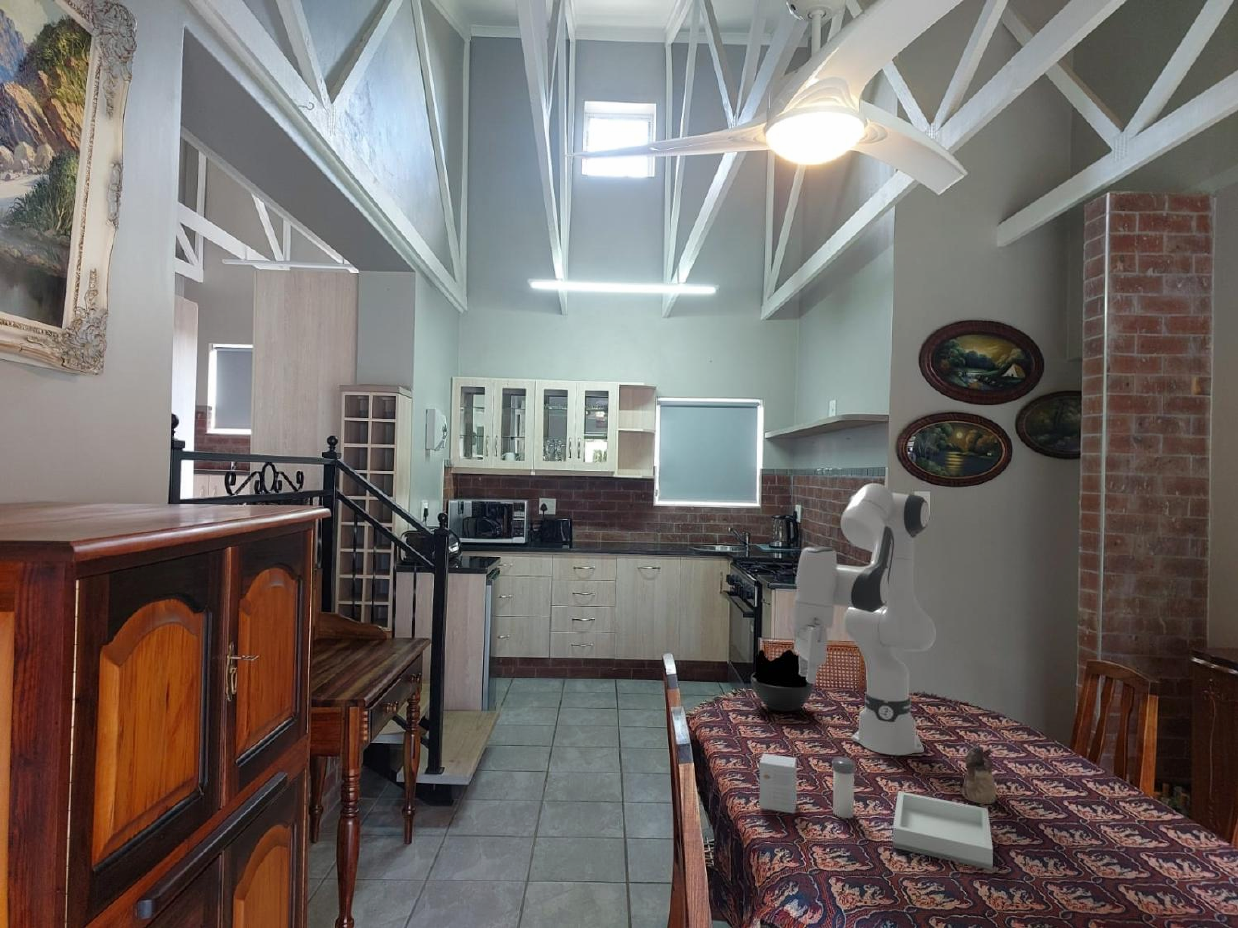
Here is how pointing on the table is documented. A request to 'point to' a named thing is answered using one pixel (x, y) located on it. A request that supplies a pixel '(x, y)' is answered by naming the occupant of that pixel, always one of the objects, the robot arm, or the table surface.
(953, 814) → the tray
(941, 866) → the table surface
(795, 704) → the coal bowl
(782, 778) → the small box
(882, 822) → the table surface
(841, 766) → the shaker
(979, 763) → the figurine
